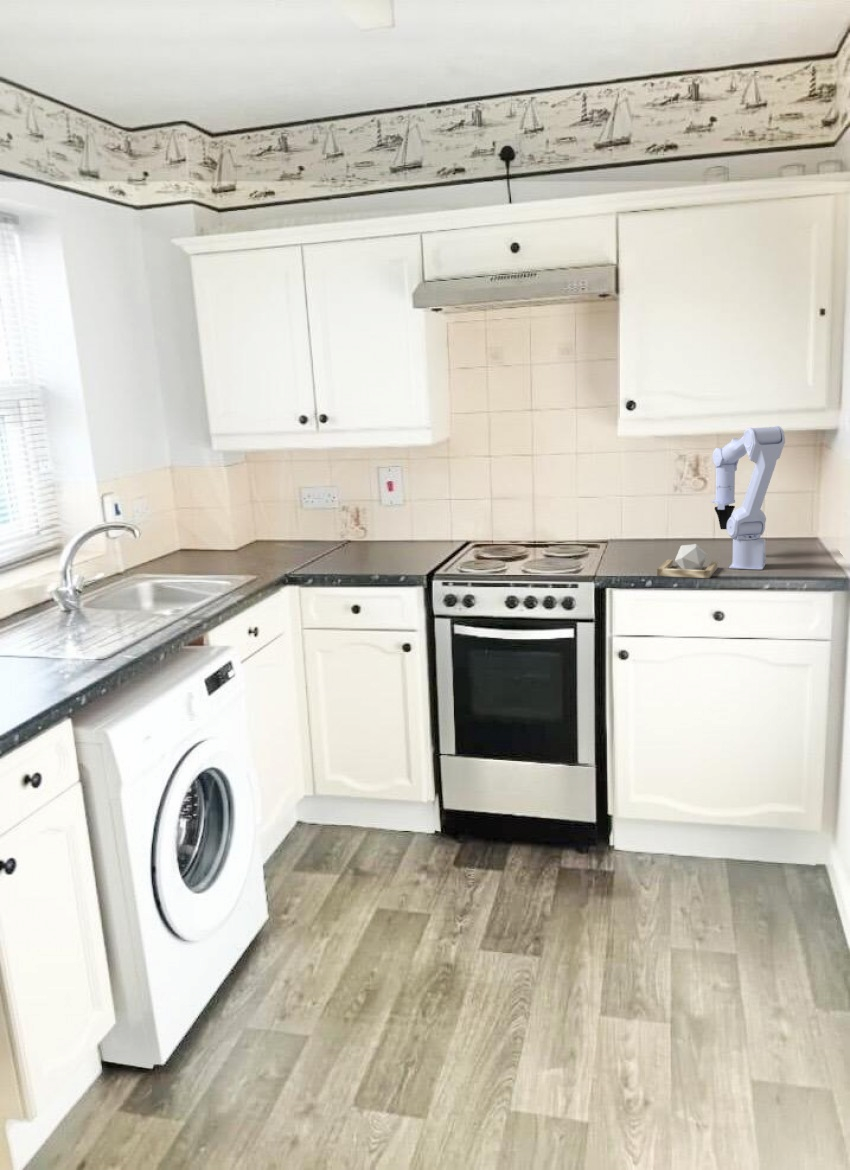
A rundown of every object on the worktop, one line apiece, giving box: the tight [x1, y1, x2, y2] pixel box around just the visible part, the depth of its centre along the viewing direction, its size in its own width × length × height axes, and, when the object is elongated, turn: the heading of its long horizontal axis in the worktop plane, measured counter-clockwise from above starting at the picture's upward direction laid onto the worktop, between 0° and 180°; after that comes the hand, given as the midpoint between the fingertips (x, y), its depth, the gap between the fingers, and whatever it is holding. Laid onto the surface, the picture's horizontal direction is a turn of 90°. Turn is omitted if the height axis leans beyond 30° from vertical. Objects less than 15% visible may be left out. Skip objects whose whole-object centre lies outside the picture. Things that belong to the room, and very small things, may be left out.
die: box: [674, 543, 708, 570], centre depth 273 cm, size 8×9×10 cm
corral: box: [656, 559, 719, 579], centre depth 272 cm, size 15×14×2 cm
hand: (724, 529), depth 286 cm, fingers closed
